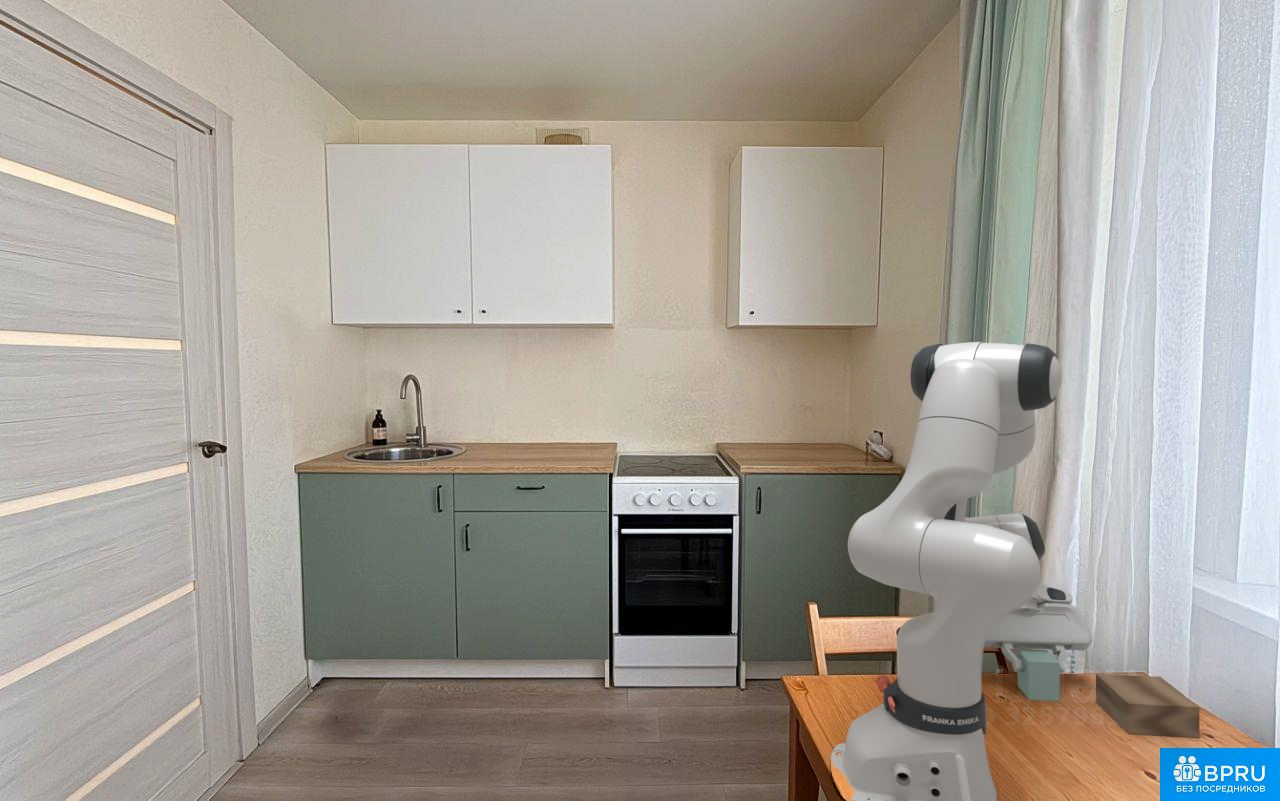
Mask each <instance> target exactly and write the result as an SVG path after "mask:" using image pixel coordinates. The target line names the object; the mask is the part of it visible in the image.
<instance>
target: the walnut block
mask: <svg viewBox="0 0 1280 801" xmlns="http://www.w3.org/2000/svg"><path fill="white" fill-rule="evenodd" d="M1095 702H1096V703H1097V704H1098V706H1100V707H1101V708H1102V709H1103V710H1104V712H1105V713H1107V714H1108V715H1109V716H1110V717H1111V718H1112V719H1113V720H1114V721H1115V722H1116V723H1117V724H1118V725H1119V726H1120V727H1121V728H1122V729H1123V730H1124V731H1125V732H1126V733H1127V734H1128V735H1138V736H1139V735H1141V736H1159V737H1176V738H1177V737H1179V738H1192V737H1199V738H1200V706H1199V705H1198V704H1196V703H1194V701H1192V700H1191V699H1190V698H1189V697H1187V696H1186V695H1184V693H1182V692H1181V691H1180V690H1178V689H1177V688H1176V687H1174V686H1173V685H1172V684H1170V683H1169V682H1168V681H1167V680H1165V679H1164V678H1163V677H1161V676H1155V675H1154V676H1153V675H1134V674H1133V675H1130V674H1129V675H1128V674H1127V675H1126V674H1106V673H1105V674H1104V673H1102V674H1101V673H1096V674H1095Z"/></svg>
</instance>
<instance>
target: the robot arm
mask: <svg viewBox="0 0 1280 801" xmlns="http://www.w3.org/2000/svg"><path fill="white" fill-rule="evenodd" d="M910 366H911V367H910V372H909V373H910V374H909V379H910V386H911V390H912V392H913V394H914V395H915V396H916V397H917V399H918V400H920V401H921V402H922V403H921V406H920V409H919V415H918V419H917V424H916V428H915V429H916V431H915V435H914V439H913V445H912V449H911V453H910V456H909V460H908V464H907V466H906V470H905V471H904V472H905V473H904V474H903V476H902V479H901V480H900V482H899V484H898V485H897V486H896V488H895V489H894V491H893V492H891V494H890V495H889V496H888V497H887V498H886V499H885V500H884V501H883V502H882V503H880V504H879V505H878V506H876V507H875V508H873V509H872V510H870V511H868V512H866V513H864V514H863V515H861V516H860V517H859V518H857V520H856V521H855V522H854V523H853V525H852V527H851V529H850V531H849V535H848V537H847V538H848V539H847V550H848V556H849V559H850V561H851V564H852V565H853V568H854V569H855V570H856V572H858V573H860V574H861V575H864V576H866V577H867V578H870V579H872V580H874V581H876V582H879V583H881V584H883V585H886V586H889V587H894V588H898V589H903V590H907V591H912V592H916V593H921V594H925V595H928V596H931V597H933V600H934V603H935V604H934V611H931V612H928V613H924V614H919V615H917V616H914V617H912V618H910V619H908V620H907V621H905V622H904V623H903V624H902V625H901V627H900V628H899V630H898V633H897V636H896V665H897V666H896V667H897V668H896V669H897V670H896V671H897V673H896V674H897V678H896V679H895V680H893V682H890V678H888V676H887V675H885V674H879V675H878V676H877V677H876V678H875V684H876V686H877V689H878V690H879V692H881V694H882V695H883V697H882V699H883V700H882V701H883V703H882V704H880V705H879V706H876V707H875V708H873V709H872V710H869V711H867V712H866V713H865V714H864V713H863V715H861V716H858V717H857V718H855V719H854V720H853V721H852V722H851V723H850V725H849V728H848V730H847V734H846V740H845V742H841V743H838V744H836V745H835V747H834V748H833V750H832V751H831V754H830V760H831V762H832V763H833V764H834V766H835V768H838V769H839V771H840V772H841V771H842V772H843V774H844V776H845V777H846V779H847V781H848V782H849V784H850V785H851V786H852V789H854V792H855V794H854V795H853V796H852V798H851V800H853V801H997V797H998V794H997V789H996V786H995V784H994V780H993V778H992V774H991V769H990V766H989V761H988V756H987V750H986V741H985V735H986V734H987V721H988V718H987V717H988V716H987V715H988V714H987V712H988V711H987V702H986V697H985V694H984V693H983V692H982V689H983V688H982V685H983V684H982V678H983V677H982V675H983V674H982V673H983V672H982V669H983V657H984V648H997V649H998V648H1000V650H1001V652H1002V654H1003V655H1004V657H1006V659H1007V660H1008V661H1009V662H1010V663H1011V665H1012V667H1013V671H1014V672H1017V673H1018V672H1024V670H1025V665H1024V662H1023V659H1018V658H1017V655H1016V654H1015V653H1014V652H1013V649H1025V650H1051V651H1052V654H1053V655H1054V656H1056V658H1055V659H1056V660H1057V661H1058V662H1059V674H1064V673H1065V666H1064V664H1063V660H1064V657H1065V653H1066V651H1079V652H1080V651H1081V652H1082V651H1083V652H1084V651H1085V650H1087V649H1088V648H1089V647H1090V645H1092V642H1093V636H1092V633H1091V631H1090V628H1089V626H1088V624H1087V622H1086V619H1085V617H1084V615H1083V613H1082V612H1081V611H1080V609H1078V607H1076V606H1075V605H1073V604H1072V603H1073V600H1074V599H1073V595H1072V594H1071V592H1069V591H1067V590H1064V589H1062V588H1061V589H1060V588H1057V587H1053V586H1050V585H1046V584H1044V583H1041V565H1040V561H1041V559H1042V558H1043V556H1044V555H1045V554H1046V547H1045V543H1044V541H1043V540H1044V539H1043V538H1042V535H1041V531H1040V529H1039V526H1038V523H1037V522H1036V521H1034V519H1032V518H1030V517H1029V516H1027V515H1026V514H1023V513H1003V514H994V515H984V516H974V517H972V516H971V517H966V512H967V503H968V499H970V498H973V497H975V496H978V495H980V494H981V493H982V492H983V491H985V490H986V489H987V487H989V485H990V484H991V481H992V479H993V476H994V475H997V474H999V473H1001V472H1004V471H1007V470H1009V469H1012V468H1014V467H1015V466H1017V465H1019V464H1020V463H1021V462H1023V461H1025V459H1026V458H1027V457H1028V456H1029V455H1030V453H1031V452H1032V451H1033V448H1034V446H1035V441H1036V415H1035V414H1036V413H1035V410H1040V409H1045V408H1047V406H1049V405H1051V404H1052V403H1054V401H1055V400H1056V397H1057V395H1058V393H1059V391H1060V388H1061V385H1062V380H1063V372H1062V371H1063V370H1062V367H1061V364H1060V362H1059V360H1058V356H1057V354H1056V353H1055V351H1054V350H1052V349H1051V348H1050V347H1049V346H1046V345H1041V344H1035V343H1030V342H1028V343H1026V344H1015V343H1007V342H1006V343H1005V342H1004V343H1003V342H1001V343H1000V342H984V341H970V342H960V343H959V342H958V343H951V344H943V343H937V344H932V345H928V346H924V347H921V349H920V350H918V352H917V353H916V354H915V355H914V356H913V360H912V363H911V365H910ZM836 753H840V754H841V755H840V756H838V755H836ZM854 792H853V793H854Z"/></svg>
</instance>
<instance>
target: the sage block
mask: <svg viewBox="0 0 1280 801" xmlns="http://www.w3.org/2000/svg"><path fill="white" fill-rule="evenodd" d="M1016 649H1017V651H1016V652H1017V653H1016V654H1017V655H1016V657H1017V658H1018V659H1023V662H1024V665H1025V670H1024V672H1018V671H1017V687H1018V688H1019V689H1020V690H1021V692H1022V693H1023V695H1024V696H1025V697H1026V698H1027V699H1028V701H1046V702H1061V701H1060V700H1061V697H1060V696H1061V693H1060V691H1061V690H1060V687H1061V686H1060V681H1061V680H1060V679H1061V677H1060V674H1061V673H1059V662H1058V661H1057V660H1056V658H1055V657H1054V656H1053V655H1052V653H1050V652H1049V651H1048V649H1024V648H1016Z"/></svg>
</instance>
